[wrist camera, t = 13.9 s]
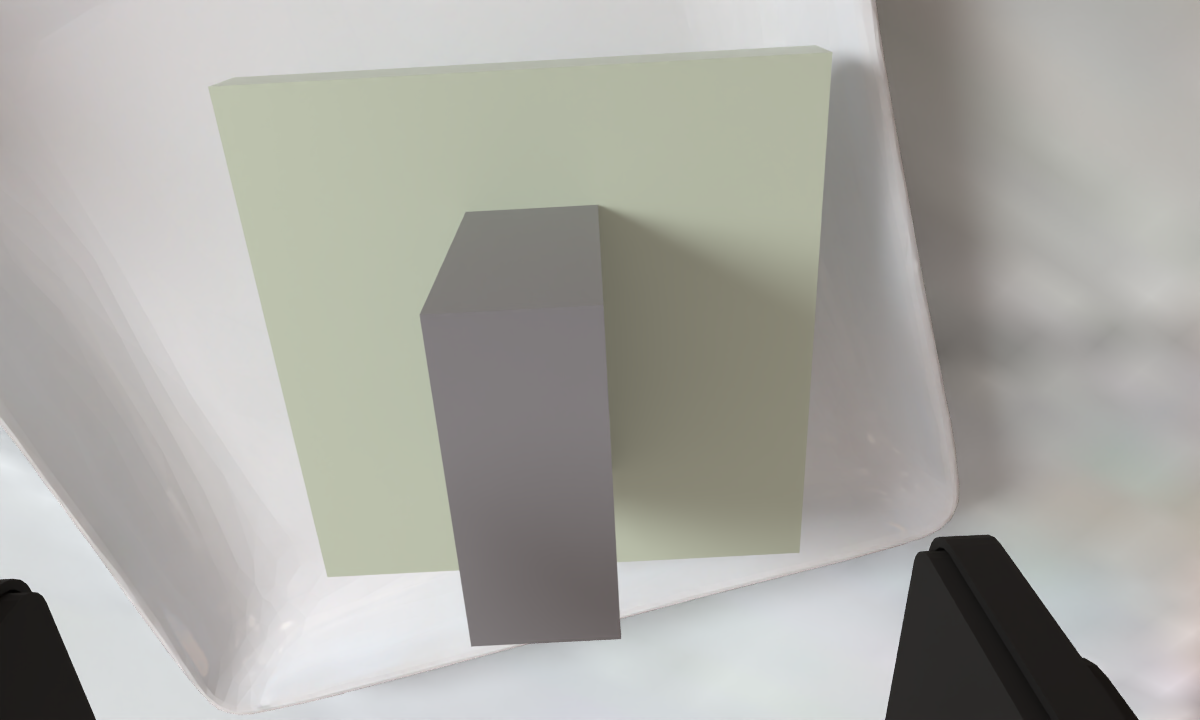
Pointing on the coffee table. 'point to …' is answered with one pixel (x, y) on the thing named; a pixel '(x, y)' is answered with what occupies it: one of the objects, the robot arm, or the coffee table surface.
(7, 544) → the coffee table surface
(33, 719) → the robot arm
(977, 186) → the coffee table surface
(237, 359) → the salad plate
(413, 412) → the lid
